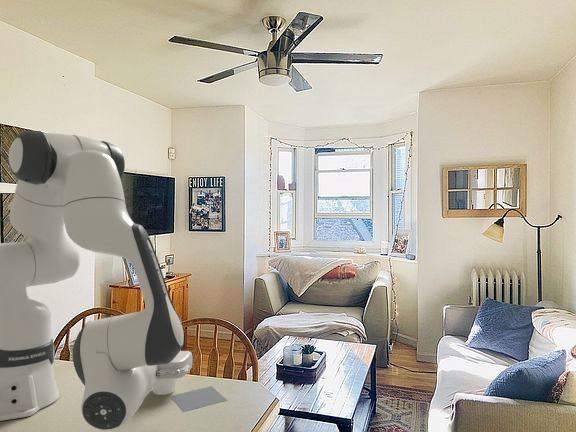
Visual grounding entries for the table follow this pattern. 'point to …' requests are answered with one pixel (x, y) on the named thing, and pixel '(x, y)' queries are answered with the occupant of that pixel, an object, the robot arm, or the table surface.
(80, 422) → the table surface
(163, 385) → the white cup
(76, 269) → the robot arm
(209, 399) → the mat
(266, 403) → the table surface
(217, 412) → the table surface
